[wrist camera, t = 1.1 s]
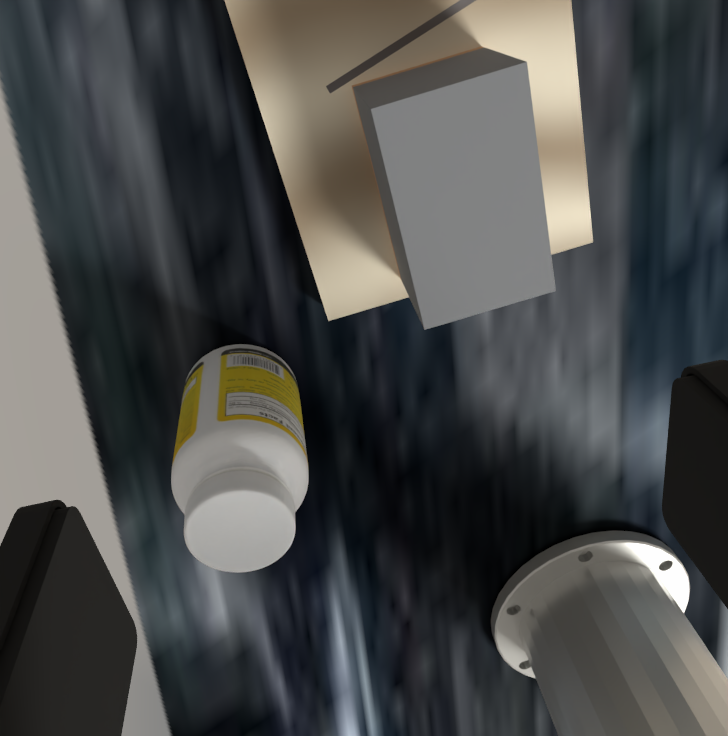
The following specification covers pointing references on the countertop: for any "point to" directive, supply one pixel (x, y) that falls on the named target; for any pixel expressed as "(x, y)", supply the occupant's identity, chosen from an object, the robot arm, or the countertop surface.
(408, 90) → the block
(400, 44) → the birch board
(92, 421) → the countertop surface
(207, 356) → the supplement bottle
